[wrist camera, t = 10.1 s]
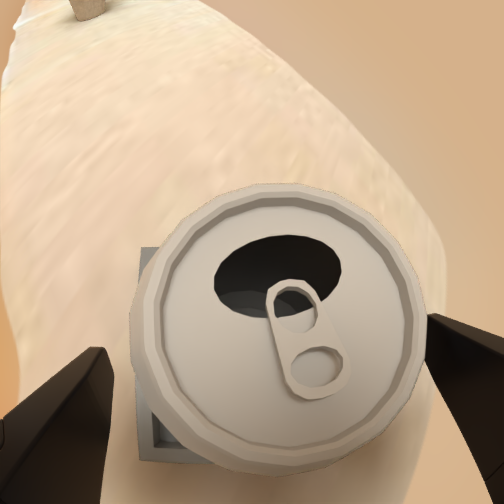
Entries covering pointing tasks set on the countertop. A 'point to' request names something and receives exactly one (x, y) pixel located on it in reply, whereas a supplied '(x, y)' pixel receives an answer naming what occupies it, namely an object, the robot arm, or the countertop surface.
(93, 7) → the house plant
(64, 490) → the robot arm
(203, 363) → the can
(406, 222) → the countertop surface
